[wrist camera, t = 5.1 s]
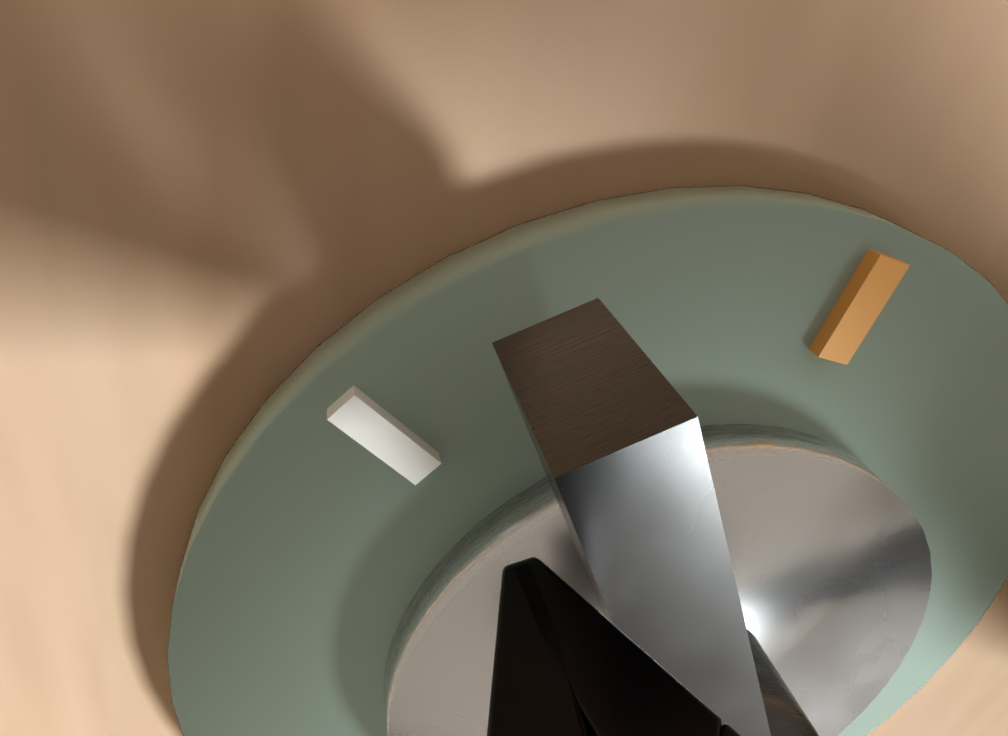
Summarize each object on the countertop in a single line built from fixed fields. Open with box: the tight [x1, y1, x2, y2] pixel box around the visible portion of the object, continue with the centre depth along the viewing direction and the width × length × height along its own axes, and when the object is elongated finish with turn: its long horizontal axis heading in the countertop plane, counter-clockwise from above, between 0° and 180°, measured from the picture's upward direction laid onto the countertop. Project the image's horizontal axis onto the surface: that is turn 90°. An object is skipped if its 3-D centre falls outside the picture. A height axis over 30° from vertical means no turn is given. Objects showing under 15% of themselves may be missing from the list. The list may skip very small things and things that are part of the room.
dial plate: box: [167, 186, 1008, 736], centre depth 16 cm, size 20×20×1 cm
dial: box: [384, 298, 932, 736], centre depth 13 cm, size 16×12×4 cm
